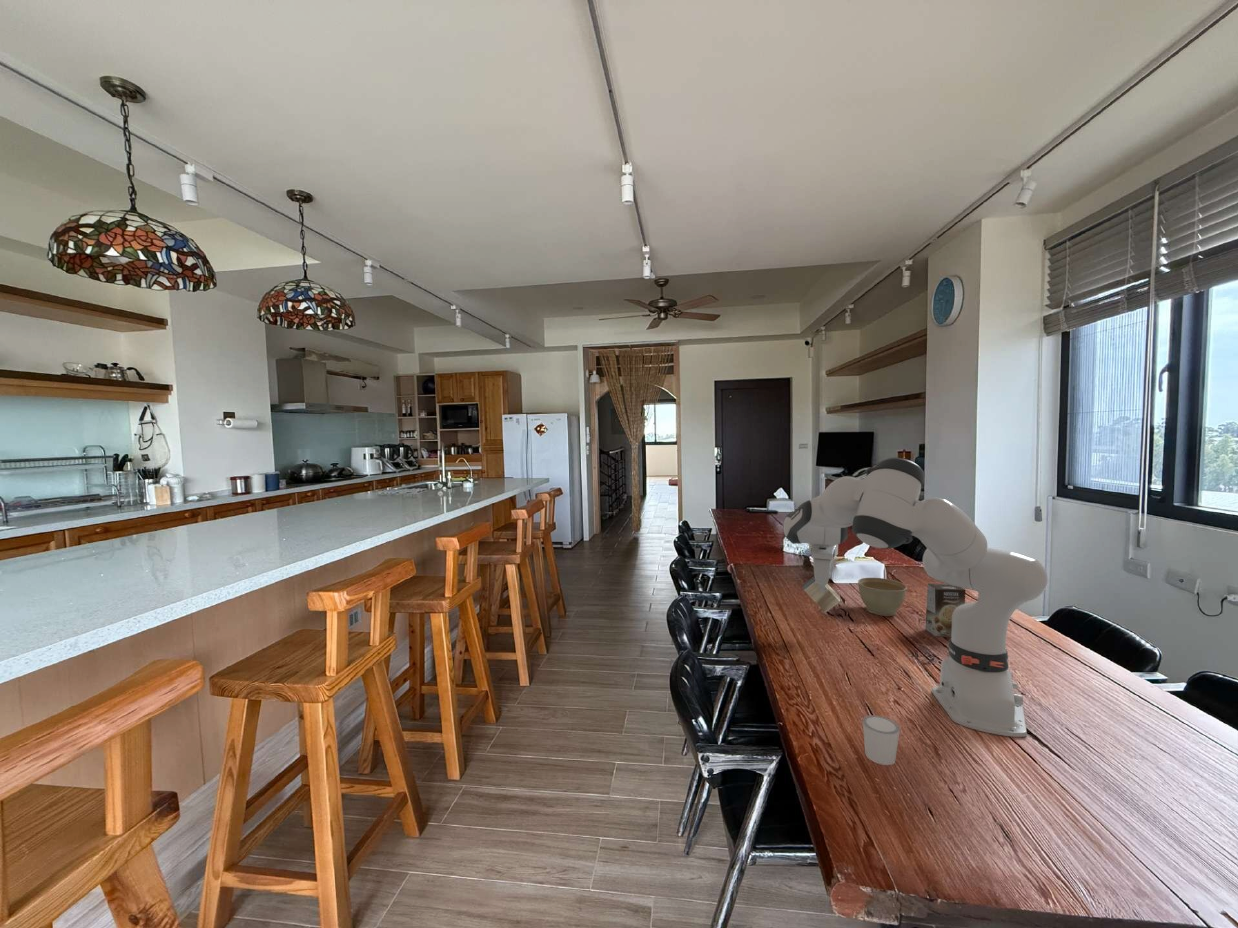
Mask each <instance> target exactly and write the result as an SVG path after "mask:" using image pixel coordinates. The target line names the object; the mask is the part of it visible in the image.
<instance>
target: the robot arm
mask: <svg viewBox="0 0 1238 928" xmlns="http://www.w3.org/2000/svg"><path fill="white" fill-rule="evenodd" d="M865 471H866V476H865V477H863V478H857V477H854V476H842V477H839V478H837V479H835V480H833V481H832V482H831V483H830V484H828V486H827V487H826V488H825V489H824V491H823V492H822V493H821V494H819V495H817V496H816V497H813V498H811V499H809V500H806V501H805V502H803V503H801V504H800V505H799V506H798V507H797V508H796V509H795V510H794V511H790V512H789V513H788V514H786V516H785V518H784V521H783V533H784V537H785V538H786V539H787V540H788V541H789V542H790V543H792V544H793V545H794V544H796V545H797V544H798V545H801V544H808V553H809V554H810V557H811V558H812V561H813V573H814V576H815V581H816V583H819V592H820V593H825V586H826V584H828V583H829V579H830V572H831V565H832V562H833V560H834V558H835V557H836V556H838V554H839V545H841V544H842V543H844V542H845V541H846V540H847V539H848V530H849V529H848V528H849V527H851V526H852V527H851V530H852V534H853V535H854V536H855V537H856V539H857V540H859V541H861V542H862V543H864V544H865V545H867V546H870V547H873V548H876V549H883V550H889V549H893V548H897V547H900V546H901V545H907V544H910V543H911V542H912V541H913V539H914V538H913V537H915V538H917V539H919V540H920V542H921V543H922V544H923V545H924V546H925V548H926V549H925V551H924V552H923V555H922V566H923V569H924V571H925V573H926V574H927V575H928V577H930V578H932V579H934V580H936V581H939V582H941V583H942V584H949V585H953V586H957V587H961V588H963V589H965V590H970V591H975V592H977V593H978V594H977V595H978V596H977V600H976V601H972V602H967V603H966V602H965V604H963V605H960V606H958V607H957V608H956V609H955V610H954V611H953V614H952V632H951V637H950V639H949V641H948V656H947V657H946V658H945V659H943V660H942V661H941V665H940V675H939V686H938V685H937V686H932V688H931V693H932V694H933V696H934V697H935V698H936V700H937V701H938V703H939V704H940V705H941V707H942V708H943V709H944V711H945V712H946V713H947V714H948V716H949V717H950V719H951V721H953V722H954V723H956V724H957V725H960V726H964V727H965V728H969V729H973V730H976V731H979V732H983V733H988V734H993V735H999V736H1005V737H1014V738H1018V737H1019V738H1022V737H1023V738H1024V737H1027V736H1028V732H1027V726H1026V725H1027V724H1026V719H1025V712H1024V705H1023V704H1024V698H1023V695H1022V694H1017V693H1014V689H1015V690H1017V689H1018V683H1017V682H1014V681H1013V672H1012V671H1011V670H1010V668H1009V662H1010V661H1009V655H1008V653H1009V652H1008V650H1007V649H1006V646H1007V635H1008V628H1009V623H1010V622H1009V621H1010V619H1011V617H1012V616H1013V615H1014V612H1015V611H1016V610H1017V609H1019V607H1021V606H1023V605H1024V604H1026V603H1028V602H1032V601H1034V600H1035V599H1037V598H1039V597H1040V596H1041V595H1043V593H1044V592H1045V591H1046V589H1047V586H1048V580H1049V579H1048V574H1047V571H1046V568H1045V567H1044V566H1043V564H1042V563H1041V561H1039V560H1038V559H1035V558H1032V557H1030V556H1026V555H1023V554H1021V553H1017V552H1016V551H1015V552H1014V551H1009V550H1008V551H1007V550H1002V549H995V548H992V547H991V548H990V547H988V540H987V538H986V536H985V535H984V533H983V532H982V531H981V529H980V528H979V527H978V526H977V524H976V523H974V521H973V520H972V519H971V518H970V517H969V515H968V514H967V513H965V512H964V511H963V510H962V509H961V508H960V507H958V506H957V505H955V504H954V503H952V502H950V501H949V500H947V499H944V498H941V497H928V498H924V499H922V500H919V499H920V496H921V495H920V494H921V491H922V490H921V489H923V488H924V484H925V471H924V470H923V469H922V467H920V466H919V465H918V464H917V463H915V462H914V461H912V460H909V459H906V458H904V457H903V458H901V457H890V458H887V459H884V460H880V462H877V464H876V465H875V466H873V467H868V468H867V469H866V470H865Z"/></svg>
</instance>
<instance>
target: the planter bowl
mask: <svg viewBox="0 0 1238 928" xmlns="http://www.w3.org/2000/svg"><path fill="white" fill-rule="evenodd" d="M857 584H858V593H859V596H860V598H861V601H862V602H863V604H864V606H866V607H865V608H866V611H868V612H869V613H871V614H873V615H877V616H882V617H883V616H884V617H890V616H891V617H892V616H895V615H896V612H897V611H898V610H899V609H900V608H901V606H902V605H903V603H904V601H905V598H906V593H907V585H906V584H905V583H902V582H900V581H898V580H893V579H890V578H889V579H888V578H881V577H863V578H860V579H858V580H857Z"/></svg>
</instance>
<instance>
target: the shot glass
mask: <svg viewBox="0 0 1238 928" xmlns="http://www.w3.org/2000/svg"><path fill="white" fill-rule="evenodd" d="M862 730H863V743H864V744H863V745H864V755H865V756H866V757H867V759H868V760H870V761H871V762H874V763H875V764H878V765H882V766H891V765H894V764H895V763H896V761H897V760H896V759H897V752H898V751H897V750H898V743H899V739H900V737H899V735H900V726H899V724H898V723H896V722H895V721H893V720H892V719H889V718H887V717H884V716H882V715H877V714H876V715H866V716H864V717H863V718H862Z"/></svg>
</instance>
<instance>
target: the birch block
mask: <svg viewBox="0 0 1238 928" xmlns="http://www.w3.org/2000/svg"><path fill="white" fill-rule="evenodd" d="M802 590H803V591H804V592H805V593H806V594H807V595H808V596H809V597H810V599H811V600H813V602H814V603H815V604H816V605H817V606H818V607H819V608H820V609H821V610H822V612H824V613H828V611H830V610H831V609H832V608H834V607H835V606H837V605H838V604H839V603H840V602H841V597H840V595H839V594H838V593H837V592H836V591H835V590H834V589H833V588H832V587H831V586H830V585H829V584H828V583H827V584H826V586H825V593H820V592H819V583H816V581H815V575H814V576H812V577H811V578H810V579H808V580H807V581H806V582H805V583H803V585H802Z"/></svg>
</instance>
